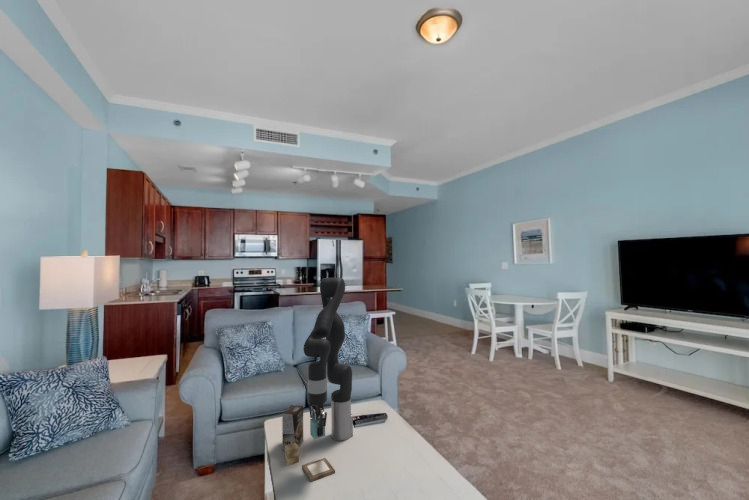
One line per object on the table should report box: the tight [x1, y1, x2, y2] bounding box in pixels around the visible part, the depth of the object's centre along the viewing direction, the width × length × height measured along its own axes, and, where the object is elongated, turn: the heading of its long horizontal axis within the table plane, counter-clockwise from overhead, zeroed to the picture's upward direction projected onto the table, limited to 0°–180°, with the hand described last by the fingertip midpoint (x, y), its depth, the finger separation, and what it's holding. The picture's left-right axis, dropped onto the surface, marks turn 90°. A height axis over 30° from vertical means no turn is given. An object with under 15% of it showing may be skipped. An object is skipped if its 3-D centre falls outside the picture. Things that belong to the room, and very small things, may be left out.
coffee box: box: [281, 405, 304, 452], centre depth 150 cm, size 9×6×16 cm
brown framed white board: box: [301, 457, 336, 483], centre depth 132 cm, size 10×10×1 cm
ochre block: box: [284, 443, 300, 466], centre depth 139 cm, size 4×4×6 cm
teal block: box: [309, 417, 326, 440], centre depth 132 cm, size 4×4×6 cm
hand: (317, 432), depth 132 cm, fingers closed on teal block, 4 cm apart
